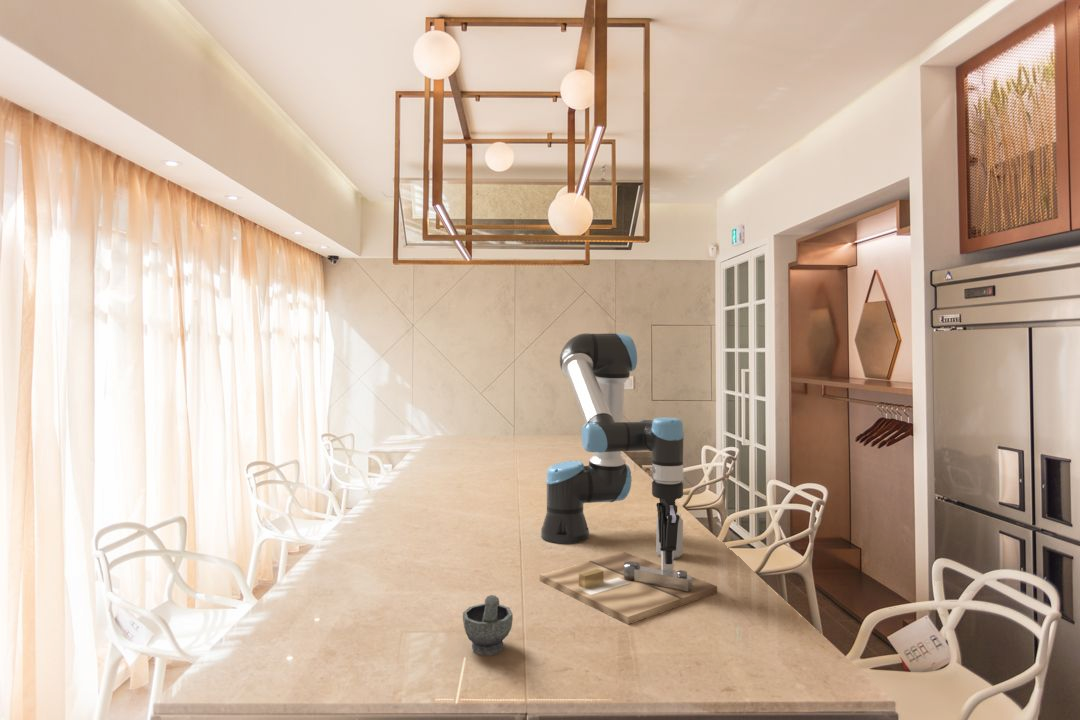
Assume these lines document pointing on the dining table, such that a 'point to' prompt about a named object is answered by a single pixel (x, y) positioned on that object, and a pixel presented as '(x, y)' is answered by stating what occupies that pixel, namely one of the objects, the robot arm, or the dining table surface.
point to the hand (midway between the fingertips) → (667, 575)
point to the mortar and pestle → (487, 626)
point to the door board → (622, 588)
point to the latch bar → (657, 576)
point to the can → (679, 546)
